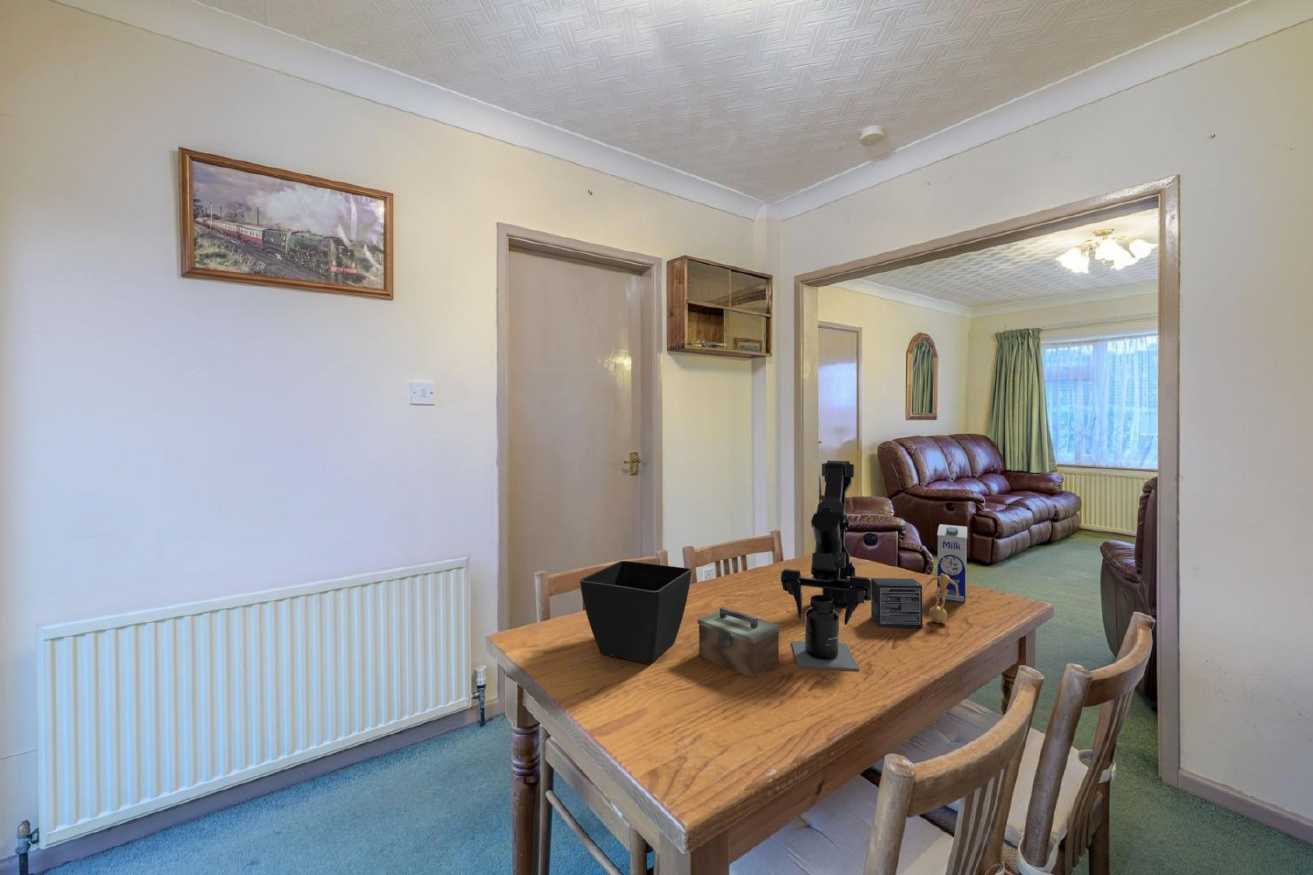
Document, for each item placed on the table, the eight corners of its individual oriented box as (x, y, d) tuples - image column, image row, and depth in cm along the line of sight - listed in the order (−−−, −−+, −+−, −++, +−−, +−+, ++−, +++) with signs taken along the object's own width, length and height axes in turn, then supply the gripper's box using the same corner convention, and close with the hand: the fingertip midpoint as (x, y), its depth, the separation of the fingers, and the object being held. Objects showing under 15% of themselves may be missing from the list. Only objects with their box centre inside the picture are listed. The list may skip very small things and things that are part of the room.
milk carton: (966, 595, 150) (967, 525, 149) (965, 603, 144) (966, 530, 143) (938, 591, 154) (939, 523, 153) (936, 598, 148) (937, 527, 147)
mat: (846, 645, 118) (846, 643, 118) (859, 670, 106) (859, 668, 106) (791, 642, 120) (791, 640, 120) (797, 667, 108) (797, 665, 108)
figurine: (917, 618, 133) (917, 571, 133) (930, 613, 137) (930, 567, 136) (950, 629, 126) (951, 580, 126) (963, 624, 130) (964, 575, 129)
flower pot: (622, 625, 130) (621, 558, 130) (693, 639, 122) (693, 567, 121) (578, 657, 113) (577, 579, 113) (657, 675, 105) (657, 592, 104)
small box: (913, 618, 134) (913, 577, 133) (923, 628, 127) (924, 585, 127) (870, 617, 135) (870, 576, 134) (878, 627, 128) (878, 584, 128)
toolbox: (696, 656, 113) (696, 610, 113) (724, 642, 120) (724, 599, 120) (753, 679, 103) (753, 629, 103) (780, 663, 110) (780, 615, 110)
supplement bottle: (837, 662, 109) (837, 605, 108) (803, 657, 112) (803, 601, 111) (839, 649, 115) (839, 595, 115) (807, 644, 118) (807, 591, 117)
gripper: (782, 533, 119) (772, 597, 110) (871, 540, 112) (869, 609, 102) (787, 559, 127) (779, 621, 117) (871, 567, 120) (870, 633, 110)
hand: (822, 620), depth 112 cm, fingers open, 9 cm apart
